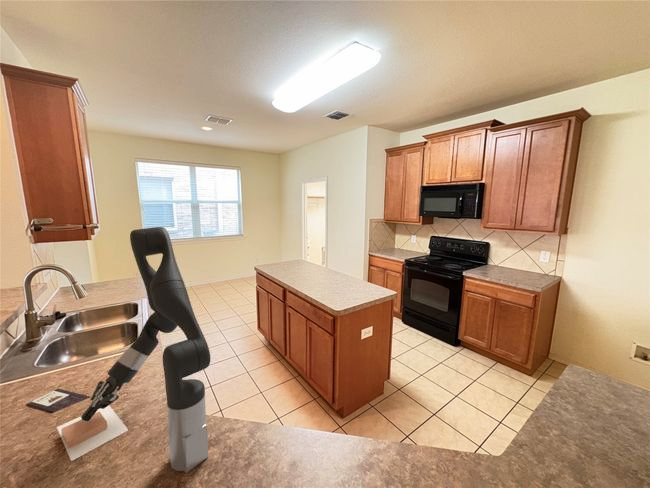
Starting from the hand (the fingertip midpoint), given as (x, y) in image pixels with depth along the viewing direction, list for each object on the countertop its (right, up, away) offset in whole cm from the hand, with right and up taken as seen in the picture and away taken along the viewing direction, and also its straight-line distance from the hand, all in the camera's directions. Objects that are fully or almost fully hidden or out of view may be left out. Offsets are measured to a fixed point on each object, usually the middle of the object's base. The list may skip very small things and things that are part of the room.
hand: (84, 419), depth 80 cm
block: (+3, -3, +4) cm, 5 cm away
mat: (+1, -5, +2) cm, 5 cm away
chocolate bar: (-24, -4, +15) cm, 28 cm away
